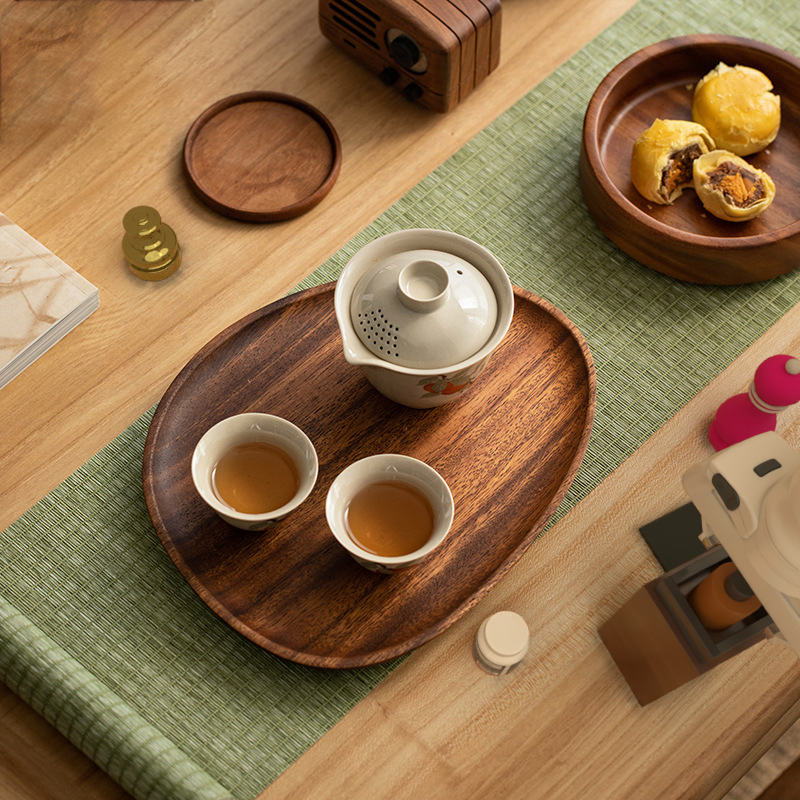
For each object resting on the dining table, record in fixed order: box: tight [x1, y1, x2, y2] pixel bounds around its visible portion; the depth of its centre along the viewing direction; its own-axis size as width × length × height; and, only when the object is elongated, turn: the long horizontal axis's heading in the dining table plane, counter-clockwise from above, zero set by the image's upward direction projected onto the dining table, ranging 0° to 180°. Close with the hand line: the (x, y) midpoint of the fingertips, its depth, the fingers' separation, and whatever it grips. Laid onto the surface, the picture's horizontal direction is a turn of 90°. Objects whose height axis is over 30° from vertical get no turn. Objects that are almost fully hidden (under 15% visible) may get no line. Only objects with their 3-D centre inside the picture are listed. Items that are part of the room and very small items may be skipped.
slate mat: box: [638, 500, 720, 573], centre depth 112 cm, size 10×10×1 cm
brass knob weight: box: [121, 204, 182, 282], centre depth 124 cm, size 7×7×10 cm
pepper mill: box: [708, 353, 800, 453], centre depth 110 cm, size 7×7×20 cm
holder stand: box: [596, 544, 775, 708], centre depth 96 cm, size 10×10×23 cm
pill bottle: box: [471, 610, 531, 677], centre depth 101 cm, size 6×6×10 cm
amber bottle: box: [687, 562, 762, 632], centre depth 85 cm, size 5×5×9 cm
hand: (740, 586), depth 82 cm, fingers open, 8 cm apart
